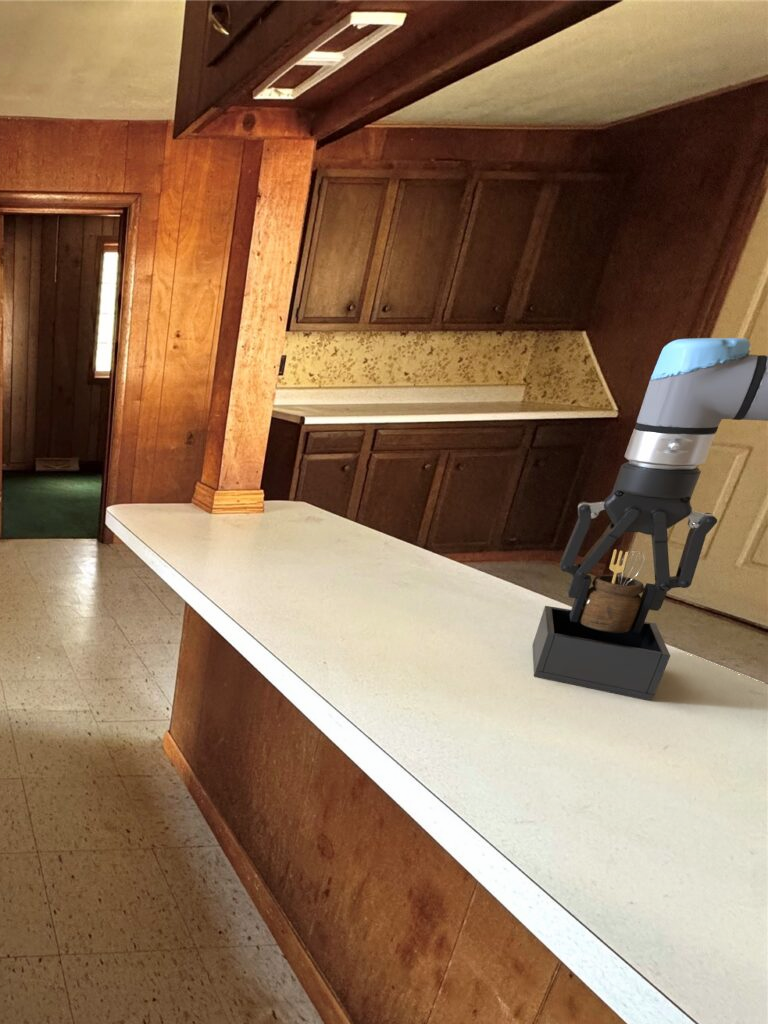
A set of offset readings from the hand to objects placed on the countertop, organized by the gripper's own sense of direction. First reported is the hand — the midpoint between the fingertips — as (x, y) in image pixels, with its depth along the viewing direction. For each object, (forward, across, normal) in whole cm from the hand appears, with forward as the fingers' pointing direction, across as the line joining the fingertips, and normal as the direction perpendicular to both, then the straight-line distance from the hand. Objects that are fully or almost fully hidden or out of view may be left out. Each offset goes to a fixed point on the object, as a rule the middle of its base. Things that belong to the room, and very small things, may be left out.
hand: (603, 623), depth 95 cm
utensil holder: (+1, 0, 0) cm, 1 cm away
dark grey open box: (+8, 0, 0) cm, 8 cm away
